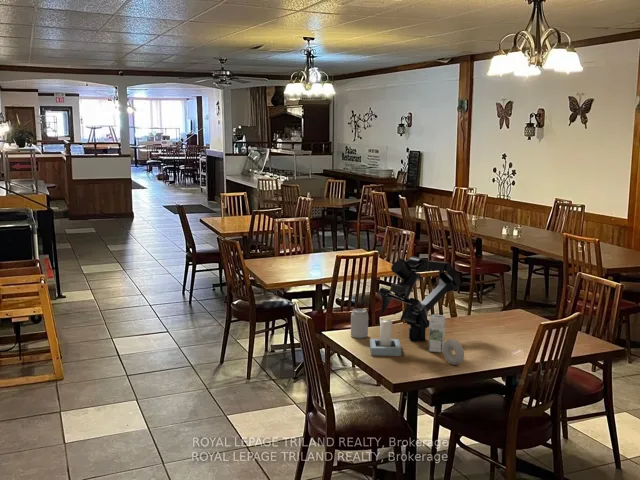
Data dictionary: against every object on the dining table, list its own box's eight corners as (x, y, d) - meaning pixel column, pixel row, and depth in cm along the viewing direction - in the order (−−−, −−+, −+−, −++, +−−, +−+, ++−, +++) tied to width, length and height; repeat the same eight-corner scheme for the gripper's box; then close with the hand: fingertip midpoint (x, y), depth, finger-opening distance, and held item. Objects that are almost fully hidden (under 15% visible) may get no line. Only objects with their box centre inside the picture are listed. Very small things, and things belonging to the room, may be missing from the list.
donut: (440, 361, 247) (441, 336, 246) (447, 359, 249) (447, 335, 247) (459, 369, 239) (460, 343, 237) (465, 367, 241) (466, 342, 239)
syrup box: (444, 349, 262) (445, 314, 259) (442, 353, 256) (443, 318, 254) (430, 347, 264) (431, 313, 261) (428, 351, 258) (429, 317, 256)
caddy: (398, 345, 265) (398, 339, 265) (401, 355, 253) (401, 348, 253) (369, 345, 266) (369, 338, 265) (371, 355, 254) (371, 348, 253)
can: (368, 334, 281) (368, 308, 279) (367, 339, 274) (368, 312, 272) (351, 333, 282) (351, 307, 280) (350, 339, 274) (350, 312, 272)
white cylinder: (392, 348, 261) (393, 320, 259) (389, 352, 256) (390, 323, 254) (381, 346, 263) (382, 318, 261) (377, 350, 258) (378, 321, 256)
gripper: (381, 269, 264) (365, 302, 260) (420, 282, 253) (404, 317, 250) (391, 280, 273) (375, 312, 269) (429, 293, 262) (413, 327, 258)
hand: (391, 317), depth 261 cm, fingers open, 9 cm apart
